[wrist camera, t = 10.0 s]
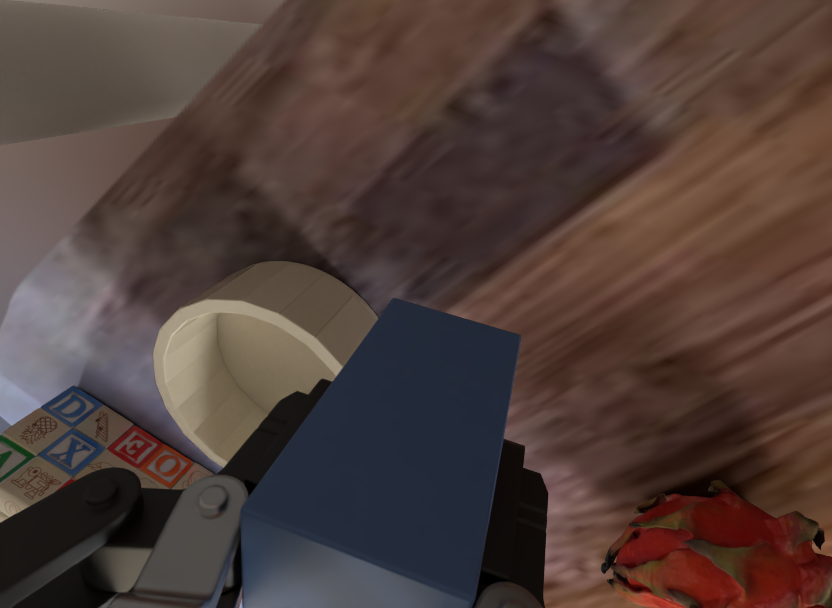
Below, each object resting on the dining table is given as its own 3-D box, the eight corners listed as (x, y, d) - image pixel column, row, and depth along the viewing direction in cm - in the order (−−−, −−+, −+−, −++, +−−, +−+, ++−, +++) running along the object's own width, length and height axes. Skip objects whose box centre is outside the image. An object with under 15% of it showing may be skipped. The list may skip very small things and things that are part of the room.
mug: (191, 363, 36) (134, 410, 31) (245, 218, 29) (182, 250, 24) (385, 490, 36) (358, 555, 31) (486, 377, 29) (470, 439, 24)
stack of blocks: (66, 424, 44) (-91, 541, 34) (74, 382, 41) (-97, 496, 30) (263, 551, 45) (168, 704, 34) (286, 519, 41) (190, 678, 31)
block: (376, 395, 17) (241, 634, 10) (392, 296, 15) (237, 509, 8) (489, 432, 16) (428, 716, 9) (522, 334, 14) (475, 600, 7)
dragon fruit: (827, 497, 28) (611, 485, 34) (849, 474, 22) (579, 464, 28) (869, 676, 25) (618, 627, 31) (910, 710, 18) (584, 639, 24)
